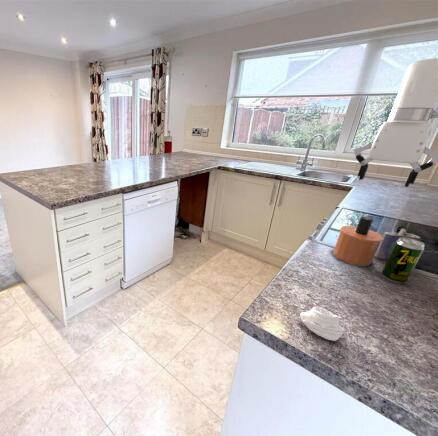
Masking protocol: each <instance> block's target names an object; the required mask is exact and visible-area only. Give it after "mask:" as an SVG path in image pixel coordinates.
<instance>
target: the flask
mask: <svg viewBox="0 0 438 436" xmlns="http://www.w3.org/2000/svg"><path fill="white" fill-rule="evenodd" d="M382 236H383V238H384V239H383V241H382V242H380V244H379V247H378V249H377V251H376V254H375V256H374V258H376V259H379V260H383V261H384V260H385V261H387V260H388V258H389V256H390V254H391V252H392V250H393V248H394V246H395V243H396V241H397V240H399V238H402V237H403V238H410V239H414V240H417V241H420V242H421V241H422V238H421V237H420V236H419V235H416V234H414V233H408V232H407V229H403V228H400V231H398V232H390V231H389V232H388V231H386V232H384V233H383V235H382Z"/></svg>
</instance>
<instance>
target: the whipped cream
mask: <svg viewBox="0 0 438 436" xmlns="http://www.w3.org/2000/svg"><path fill="white" fill-rule="evenodd" d="M299 316H300V319H301V321H302V323H303V324H304V325H305V327H307V328H308V329H309V330H310V332H312V333H314V334H315V335H317V336H319V337H321V338H323V339H325V340H328V341H332V342H336V341H337V340H339V339H340V338H341V337H342V336H343V334H344V332H346V329H345V328H344V327H342V325H341V319H342V316H339V315H338V314H337V315H335V314H334V313H333V312H331V311H330V310H327V309H325V308H323V307H320V306H314V307H312V308H311V309H310V310H308V311H302V312H300V313H299Z"/></svg>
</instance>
